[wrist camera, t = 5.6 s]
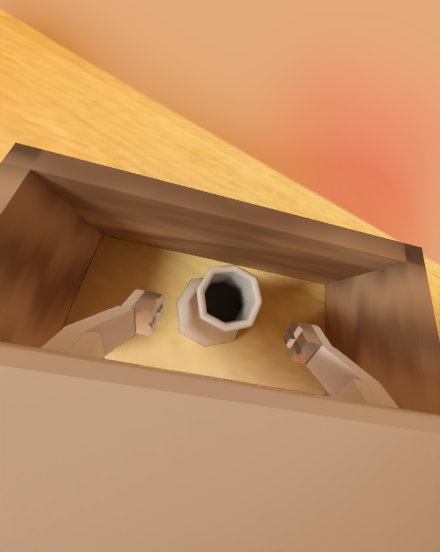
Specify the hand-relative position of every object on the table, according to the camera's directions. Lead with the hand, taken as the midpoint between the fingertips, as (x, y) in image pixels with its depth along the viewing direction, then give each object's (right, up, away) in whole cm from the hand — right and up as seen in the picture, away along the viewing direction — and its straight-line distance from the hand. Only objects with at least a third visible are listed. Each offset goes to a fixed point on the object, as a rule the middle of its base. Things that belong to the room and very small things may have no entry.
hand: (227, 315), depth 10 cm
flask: (-1, -1, +7) cm, 7 cm away
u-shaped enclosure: (-1, -1, +7) cm, 7 cm away
